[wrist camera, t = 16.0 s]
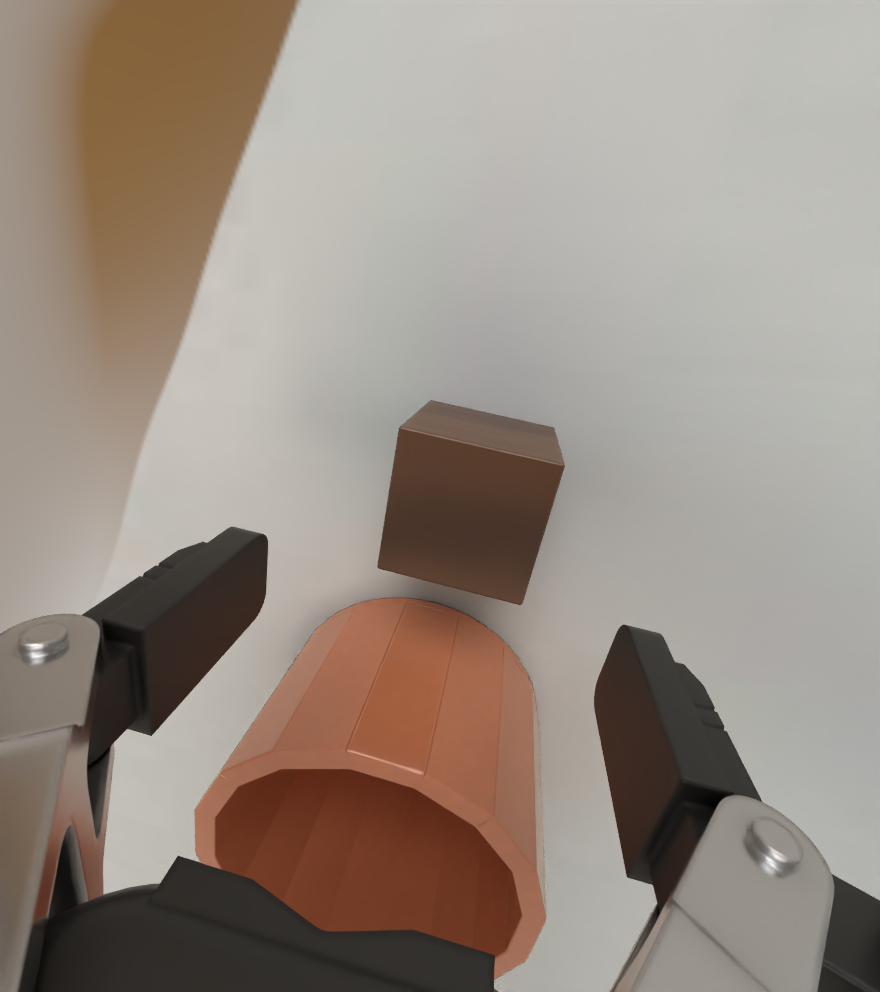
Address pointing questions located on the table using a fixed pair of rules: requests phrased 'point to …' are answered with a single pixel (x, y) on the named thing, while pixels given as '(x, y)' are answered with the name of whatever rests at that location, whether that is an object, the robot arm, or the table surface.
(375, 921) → the pot
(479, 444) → the block
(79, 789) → the robot arm
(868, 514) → the table surface
